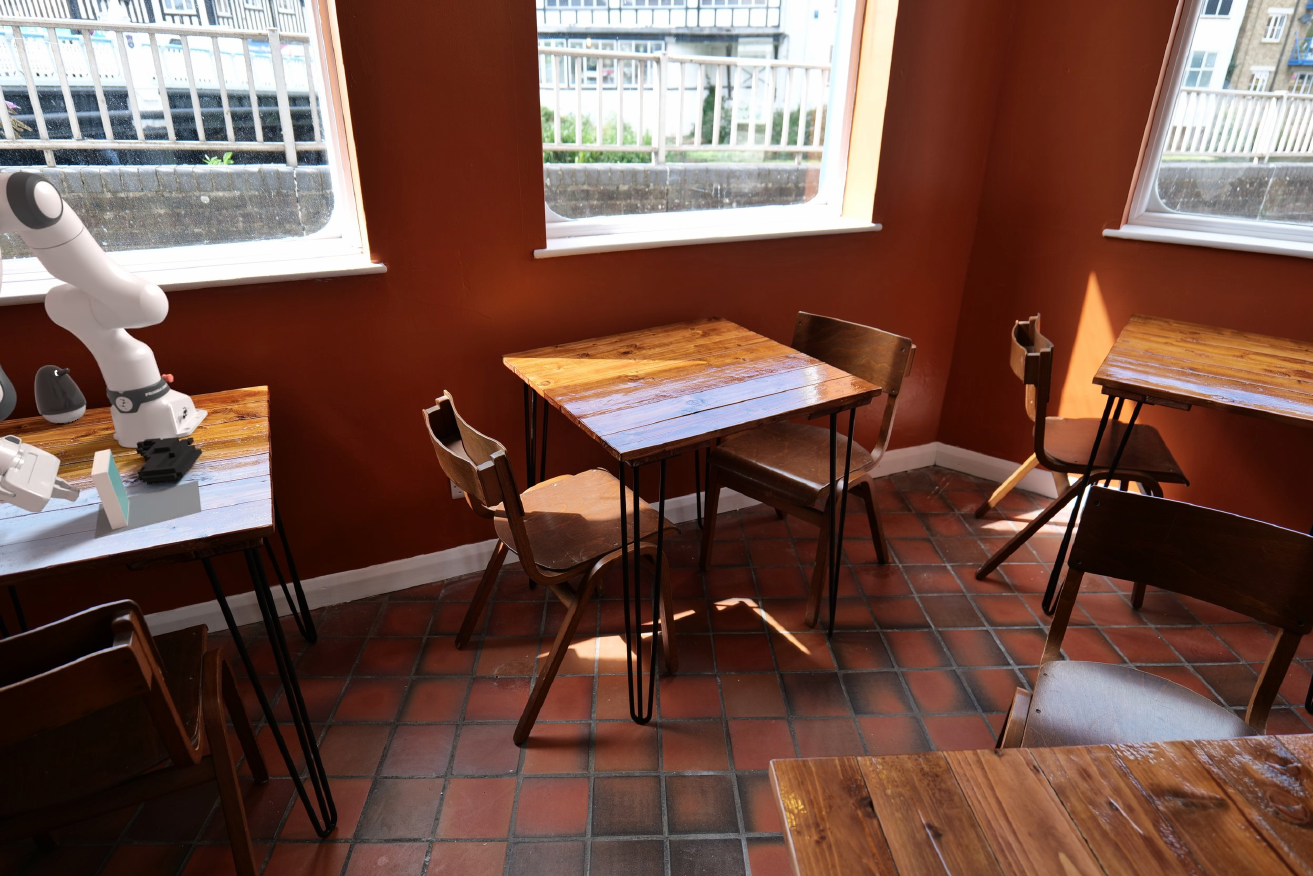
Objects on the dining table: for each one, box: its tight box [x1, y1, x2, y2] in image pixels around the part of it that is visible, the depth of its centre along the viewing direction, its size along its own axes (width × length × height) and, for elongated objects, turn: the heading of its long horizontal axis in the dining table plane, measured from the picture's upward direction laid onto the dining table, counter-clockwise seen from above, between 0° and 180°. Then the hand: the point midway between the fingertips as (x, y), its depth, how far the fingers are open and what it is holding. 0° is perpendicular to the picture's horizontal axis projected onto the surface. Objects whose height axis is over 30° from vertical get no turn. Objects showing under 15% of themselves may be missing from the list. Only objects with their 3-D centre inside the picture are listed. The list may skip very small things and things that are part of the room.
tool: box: [135, 437, 203, 486], centre depth 170 cm, size 5×20×15 cm
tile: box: [90, 448, 129, 530], centre depth 149 cm, size 2×12×12 cm, turn 31°
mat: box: [94, 480, 202, 540], centre depth 154 cm, size 18×16×1 cm
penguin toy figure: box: [34, 364, 87, 424], centre depth 196 cm, size 10×10×15 cm
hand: (77, 495), depth 147 cm, fingers closed
